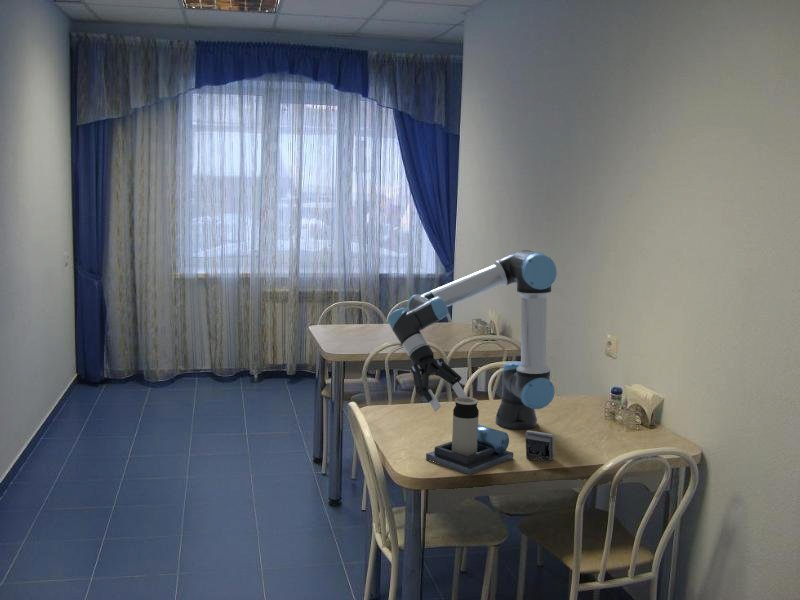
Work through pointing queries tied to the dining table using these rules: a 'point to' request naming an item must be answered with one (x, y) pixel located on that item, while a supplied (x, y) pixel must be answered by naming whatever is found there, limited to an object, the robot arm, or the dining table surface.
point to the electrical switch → (540, 446)
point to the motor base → (487, 455)
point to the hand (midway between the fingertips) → (451, 405)
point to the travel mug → (465, 426)
